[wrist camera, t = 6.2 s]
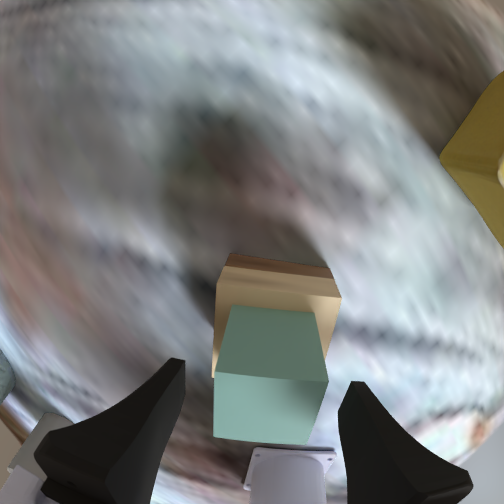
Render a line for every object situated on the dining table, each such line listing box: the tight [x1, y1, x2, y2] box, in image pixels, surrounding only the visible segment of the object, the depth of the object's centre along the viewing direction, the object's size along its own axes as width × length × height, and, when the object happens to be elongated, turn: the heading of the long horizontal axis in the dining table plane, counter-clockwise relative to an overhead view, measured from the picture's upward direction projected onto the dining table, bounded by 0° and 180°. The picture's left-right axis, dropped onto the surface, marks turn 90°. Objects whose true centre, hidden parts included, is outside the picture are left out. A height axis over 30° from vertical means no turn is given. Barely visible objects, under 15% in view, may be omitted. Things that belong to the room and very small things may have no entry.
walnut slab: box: [225, 253, 335, 281], centre depth 19 cm, size 6×6×2 cm
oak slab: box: [212, 266, 342, 378], centre depth 16 cm, size 6×6×2 cm
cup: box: [7, 413, 74, 482], centre depth 23 cm, size 8×8×10 cm
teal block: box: [213, 304, 329, 445], centre depth 13 cm, size 4×4×5 cm
